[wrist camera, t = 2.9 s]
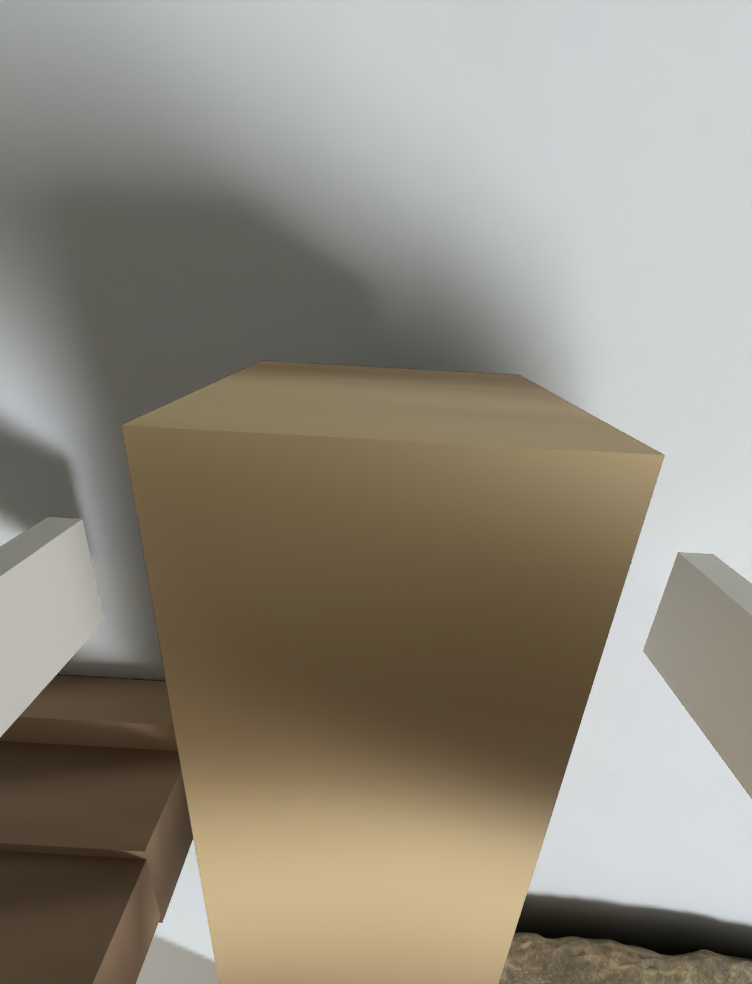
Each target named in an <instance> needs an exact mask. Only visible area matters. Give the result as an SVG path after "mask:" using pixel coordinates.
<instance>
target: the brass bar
mask: <svg viewBox="0 0 752 984" xmlns="http://www.w3.org/2000/svg"><path fill="white" fill-rule="evenodd" d="M121 428H122V433H123V439H124V445H125V451H126V456H127V462H128V468H129V473H130V479H131V485H132V490H133V496H134V502H135V508H136V513H137V519H138V525H139V530H140V536H141V542H142V548H143V553H144V559H145V565H146V570H147V576H148V582H149V587H150V593H151V599H152V605H153V610H154V616H155V622H156V627H157V633H158V639H159V644H160V650H161V656H162V662H163V667H164V673H165V679H166V684H167V690H168V696H169V702H170V707H171V713H172V719H173V724H174V730H175V736H176V741H177V747H178V753H179V759H180V764H181V770H182V776H183V781H184V787H185V793H186V798H187V804H188V810H189V816H190V821H191V827H192V833H193V838H194V844H195V850H196V856H197V861H198V867H199V873H200V878H201V884H202V890H203V895H204V901H205V907H206V913H207V918H208V924H209V930H210V935H211V941H212V947H213V952H214V958H215V964H216V970H217V975H218V981H219V984H499V981H500V977H501V974H502V971H503V968H504V965H505V962H506V958H507V955H508V952H509V949H510V946H511V942H512V939H513V936H514V933H515V930H516V927H517V923H518V920H519V917H520V914H521V911H522V907H523V904H524V901H525V898H526V895H527V892H528V888H529V885H530V882H531V879H532V876H533V872H534V869H535V866H536V863H537V860H538V857H539V853H540V850H541V847H542V844H543V841H544V837H545V834H546V831H547V828H548V825H549V822H550V818H551V815H552V812H553V809H554V806H555V802H556V799H557V796H558V793H559V790H560V787H561V783H562V780H563V777H564V774H565V771H566V767H567V764H568V761H569V758H570V755H571V752H572V748H573V745H574V742H575V739H576V736H577V732H578V729H579V726H580V723H581V720H582V717H583V713H584V710H585V707H586V704H587V701H588V697H589V694H590V691H591V688H592V685H593V682H594V678H595V675H596V672H597V669H598V666H599V662H600V659H601V656H602V653H603V650H604V647H605V643H606V640H607V637H608V634H609V631H610V627H611V624H612V621H613V618H614V615H615V612H616V608H617V605H618V602H619V599H620V596H621V592H622V589H623V586H624V583H625V580H626V577H627V573H628V570H629V567H630V564H631V561H632V557H633V554H634V551H635V548H636V545H637V542H638V538H639V535H640V532H641V529H642V526H643V522H644V519H645V516H646V513H647V510H648V507H649V503H650V500H651V497H652V494H653V491H654V487H655V484H656V481H657V478H658V475H659V472H660V468H661V465H662V462H663V459H664V456H665V455H664V454H662V453H660V452H658V451H656V450H654V449H653V448H651V447H649V446H647V445H645V444H644V443H642V442H640V441H638V440H636V439H635V438H633V437H631V436H629V435H627V434H625V433H624V432H622V431H620V430H618V429H616V428H615V427H613V426H611V425H609V424H607V423H606V422H604V421H602V420H600V419H598V418H596V417H595V416H593V415H591V414H589V413H587V412H586V411H584V410H582V409H580V408H578V407H577V406H575V405H573V404H571V403H569V402H568V401H566V400H564V399H562V398H560V397H558V396H557V395H555V394H553V393H551V392H549V391H548V390H546V389H544V388H542V387H540V386H539V385H537V384H535V383H533V382H531V381H529V380H528V379H526V378H524V377H522V376H520V375H516V374H498V373H479V372H461V371H443V370H424V369H406V368H387V367H369V366H350V365H332V364H314V363H295V362H277V361H260V362H258V363H256V364H254V365H252V366H249V367H247V368H245V369H243V370H241V371H238V372H236V373H234V374H232V375H230V376H227V377H225V378H223V379H221V380H219V381H217V382H214V383H212V384H210V385H208V386H206V387H203V388H201V389H199V390H197V391H195V392H193V393H190V394H188V395H186V396H184V397H182V398H179V399H177V400H175V401H173V402H171V403H169V404H166V405H164V406H162V407H160V408H158V409H155V410H153V411H151V412H149V413H147V414H145V415H142V416H140V417H138V418H136V419H134V420H131V421H129V422H127V423H125V424H123V425H121Z"/></svg>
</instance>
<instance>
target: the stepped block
mask: <svg viewBox="0 0 752 984" xmlns="http://www.w3.org/2000/svg"><path fill="white" fill-rule="evenodd" d="M193 839H194V838H193V833H192V827H191V821H190V816H189V810H188V804H187V798H186V793H185V787H184V781H183V776H182V770H181V764H180V759H179V753H178V747H177V741H176V736H175V730H174V724H173V719H172V713H171V707H170V702H169V696H168V690H167V684H166V681H153V680H135V679H118V678H101V677H83V676H66V675H56V676H55V677H54V678H53V679H52V680H51V681H50V682H49V684H48V685H47V686H46V687H45V688H44V689H43V690H42V691H41V693H40V694H39V695H38V696H37V697H36V698H35V699H34V700H33V701H32V703H31V704H30V705H29V706H28V707H27V708H26V709H25V710H24V711H23V713H22V714H21V715H20V716H19V717H18V718H17V719H16V720H15V722H14V723H13V724H12V725H11V726H10V727H9V728H8V729H7V730H6V732H5V733H4V734H3V735H2V736H1V737H0V984H136V981H137V978H138V976H139V973H140V971H141V968H142V965H143V962H144V960H145V957H146V954H147V952H148V949H149V946H150V943H151V941H152V938H153V936H154V933H155V930H156V927H157V925H158V922H159V923H162V922H163V919H164V917H165V914H166V911H167V908H168V906H169V903H170V900H171V897H172V895H173V892H174V889H175V886H176V884H177V881H178V878H179V876H180V873H181V870H182V867H183V865H184V862H185V859H186V856H187V854H188V851H189V848H190V845H191V843H192V840H193Z"/></svg>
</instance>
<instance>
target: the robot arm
mask: <svg viewBox="0 0 752 984" xmlns="http://www.w3.org/2000/svg"><path fill="white" fill-rule="evenodd" d="M104 621H105V617H104V612H103V608H102V603H101V599H100V595H99V590H98V586H97V581H96V577H95V573H94V568H93V564H92V559H91V555H90V550H89V546H88V542H87V537H86V533H85V528H84V524H83V520H82V519H75V518H57V517H47V518H45V519H44V520H42V521H41V522H39V523H37V524H36V525H34V526H33V527H31V528H29V529H28V530H26V531H25V532H23V533H21V534H20V535H18V536H17V537H15V538H13V539H12V540H10V541H9V542H7V543H5V544H4V545H2V546H1V547H0V737H1V736H2V735H3V734H4V733H5V732H6V730H7V729H8V728H9V727H10V726H11V725H12V724H13V723H14V722H15V720H16V719H17V718H18V717H19V716H20V715H21V714H22V713H23V711H24V710H25V709H26V708H27V707H28V706H29V705H30V704H31V703H32V701H33V700H34V699H35V698H36V697H37V696H38V695H39V694H40V693H41V691H42V690H43V689H44V688H45V687H46V686H47V685H48V684H49V682H50V681H51V680H52V679H53V678H54V677H55V676H56V675H57V674H58V672H59V671H60V670H61V669H62V668H63V667H64V666H65V665H66V663H67V662H68V661H69V660H70V659H71V658H72V657H73V656H74V655H75V653H76V652H77V651H78V650H79V649H80V648H81V647H82V646H83V645H84V643H85V642H86V641H87V640H88V639H89V638H90V637H91V636H92V634H93V633H94V632H95V631H96V630H97V629H98V628H99V627H100V626H101V624H102V623H103V622H104ZM643 651H644V653H645V654H646V656H647V657H648V658H649V660H650V661H651V662H652V664H653V665H654V666H655V668H656V669H657V671H658V672H659V673H660V675H661V676H662V677H663V679H664V680H665V681H666V683H667V684H668V686H669V687H670V688H671V690H672V691H673V692H674V694H675V695H676V696H677V698H678V699H679V701H680V702H681V703H682V705H683V706H684V707H685V709H686V710H687V711H688V713H689V714H690V715H691V717H692V718H693V720H694V721H695V722H696V724H697V725H698V726H699V728H700V729H701V730H702V732H703V733H704V735H705V736H706V737H707V739H708V740H709V741H710V743H711V744H712V745H713V747H714V748H715V750H716V751H717V752H718V754H719V755H720V756H721V758H722V759H723V760H724V762H725V763H726V765H727V766H728V767H729V769H730V770H731V771H732V773H733V774H734V775H735V777H736V778H737V780H738V781H739V782H740V784H741V785H742V786H743V788H744V789H745V790H746V792H747V793H748V794H749V796H750V797H751V799H752V584H751V583H750V582H749V581H747V580H746V579H745V578H743V577H742V576H741V575H739V574H738V573H737V572H736V571H734V570H733V569H732V568H730V567H729V566H728V565H726V564H725V563H724V562H723V561H721V560H720V559H719V558H717V557H716V556H715V555H714V554H701V553H683V552H678V554H677V557H676V560H675V562H674V565H673V568H672V571H671V574H670V577H669V579H668V582H667V585H666V588H665V591H664V593H663V596H662V599H661V602H660V605H659V607H658V610H657V613H656V616H655V619H654V621H653V624H652V627H651V630H650V633H649V636H648V638H647V641H646V644H645V647H644V650H643Z"/></svg>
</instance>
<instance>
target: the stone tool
mask: <svg viewBox="0 0 752 984" xmlns="http://www.w3.org/2000/svg"><path fill="white" fill-rule="evenodd" d="M499 984H752V959H745V958H740V957H733V956H725V955H722V954H717V953H715V952H712V951H709V950H705V949H702V950H698V951H695V952H691V953H686V954H680V955H671V956H670V955H663V954H659V953H656V952H654V951H652V950H649V949H646V948H642V947H638V946H634V945H624V944H621V943H619V942H616V941H614V940H610V939H587V938H581V937H577V936H568V937H561V938H555V939H552V938H544V937H542V936H540V935H539V934H537V933H514V936H513V939H512V942H511V946H510V949H509V952H508V955H507V958H506V962H505V965H504V968H503V971H502V974H501V977H500V981H499Z"/></svg>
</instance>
